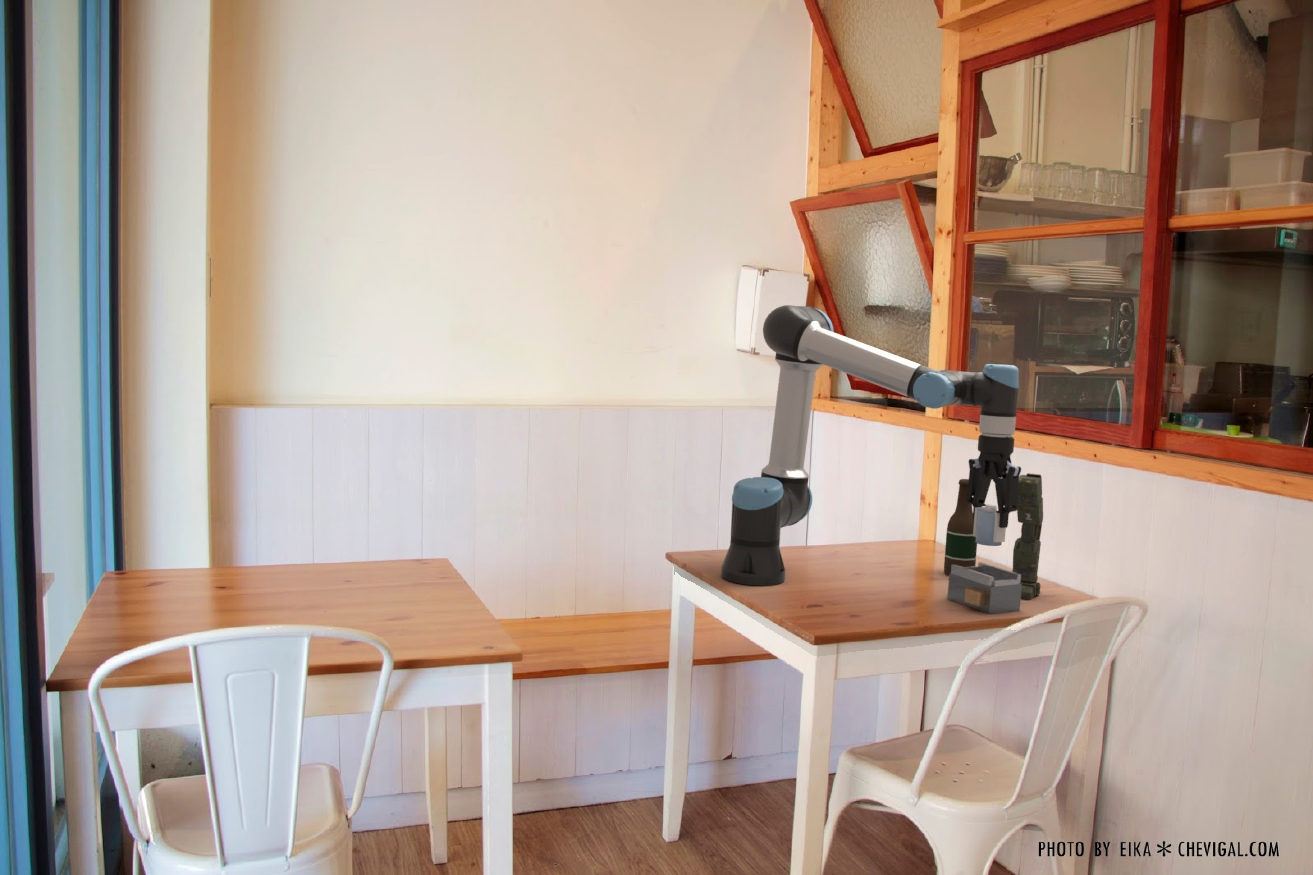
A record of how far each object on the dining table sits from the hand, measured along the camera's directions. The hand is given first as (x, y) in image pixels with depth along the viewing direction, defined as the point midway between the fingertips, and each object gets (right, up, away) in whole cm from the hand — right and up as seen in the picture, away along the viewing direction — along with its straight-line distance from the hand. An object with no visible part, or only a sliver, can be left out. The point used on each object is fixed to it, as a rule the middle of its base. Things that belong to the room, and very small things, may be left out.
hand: (988, 538), depth 234 cm
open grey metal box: (-2, -15, +2) cm, 15 cm away
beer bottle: (+2, -12, +30) cm, 32 cm away
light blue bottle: (0, -1, 0) cm, 1 cm away
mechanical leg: (+12, -14, +12) cm, 22 cm away
